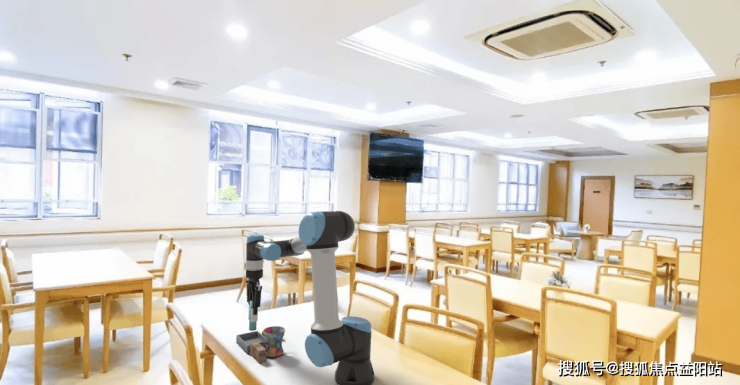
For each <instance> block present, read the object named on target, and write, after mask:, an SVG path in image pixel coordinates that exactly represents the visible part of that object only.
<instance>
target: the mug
mask: <svg viewBox="0 0 740 385" xmlns="http://www.w3.org/2000/svg"><path fill="white" fill-rule="evenodd" d="M262 331H263V333H264V335H265V338H266V347H265V349H266V358H276V357H280V356H282V355H283V354H284V352H285V351H284V349H283V338H284V336H285V333H286V328H285V327H284V326H279V325H274V326H268V327H265V328H264V329H263V330H262Z"/></svg>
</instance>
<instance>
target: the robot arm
mask: <svg viewBox="0 0 740 385" xmlns="http://www.w3.org/2000/svg"><path fill="white" fill-rule="evenodd" d="M355 226H356V224H355V221H354V219H353V217H352V216H351V215H350V214H349V213H347V212H345V211H341V210H336V211H335V210H334V211H330V210H329V211H326V210H325V211H314V212H313V211H312V212H308V213H306V214H305V215H304V216H303V217H302V219H301V220H300V221H299V225H298V236H296V237H293V238H290V239H285V240H277V241H276V240H275V241H274V240H273V241H266V240H265V237H264V235H263V234H260V233H253V234H249V235H247V237H246V244H245V245H246V246H245V247H246V248H245V249H246V250H245V251H246V252H245V253H246V256H245V279H248V280H246V281H245V282H246V303H247V304H248V318H247V319H248V321H249V314H250V301H251V300H252V307H251V322H255V321H257V322H258V318H259V317H258V313H259V308H260V307H261V300H262V289H263V285H261V282H260V279H262V278H263V277H264V263H265V260H266V261H268V262H269V261H270V262H275V261H276V260H278V259H279V258H281V259H283V258H287V257H298V256H301V255H303V254H304V253H305V252H308V253H309V254H310V260H311V277H312V295H313V296H312V297H313V313H314V314H313V315H314V322H313V323H312V324H311V325H310V334H308V335H307V336H306V339H305V341H304V349H305V353H306V355H307V357H308V359H309V360H310V362H311V363H312V364H313V365H314V366H315V367H318V368H325V367H328V366H329V367H330V366H332V365H333V364H335V363H338V364H337V367H336V369H335V372H334V381H335V383H336V385H372V384H373V383H374V381H375V371H374V367H373V364H372V359H371V351H372V350H371V349H372V348H371V347H372V333H373V331H372V323H371V321H370V320H368V319H366V318H363V317H359V316H353V315H351V316H344V317H342V318H341V319H340V318H339V304H338V303H339V302H338V300H339V299H338V286H337V272H336V268H337V267H336V256H335V255H336V254H335V253H336V251H337V250H338V249H339V242H343V241H347V240H348V239H350V238H351V237H352V236H353V234H354V233H355Z"/></svg>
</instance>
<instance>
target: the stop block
mask: <svg viewBox="0 0 740 385" xmlns="http://www.w3.org/2000/svg"><path fill="white" fill-rule="evenodd" d="M249 355H250V356H251V357H252V358H253V359H254V360H255V361H256V362H257V363H258V364H261V363H265V362H266V361H267V360H266V359H267V356H266V349H265V348H264V347H263V346H262V345H261V344H260V343H258V342H257V341H256V342H252V343H250V353H249Z"/></svg>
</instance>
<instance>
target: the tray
mask: <svg viewBox="0 0 740 385" xmlns="http://www.w3.org/2000/svg"><path fill="white" fill-rule="evenodd" d="M235 338H236V341H235V343H236V344H237V345H238V347H240V348H241V349H242V351H243V352H244V353H245V354H246V355H248V354H249V355H250V343H252V342H256V341H257V342H258V343H260V344H261V345H262V346H263V347H264V348H265V347H266V338H265V337H264V336H263V335H262V332H259V330H254V331H250V332H245V333H240V334H236V337H235Z"/></svg>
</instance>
